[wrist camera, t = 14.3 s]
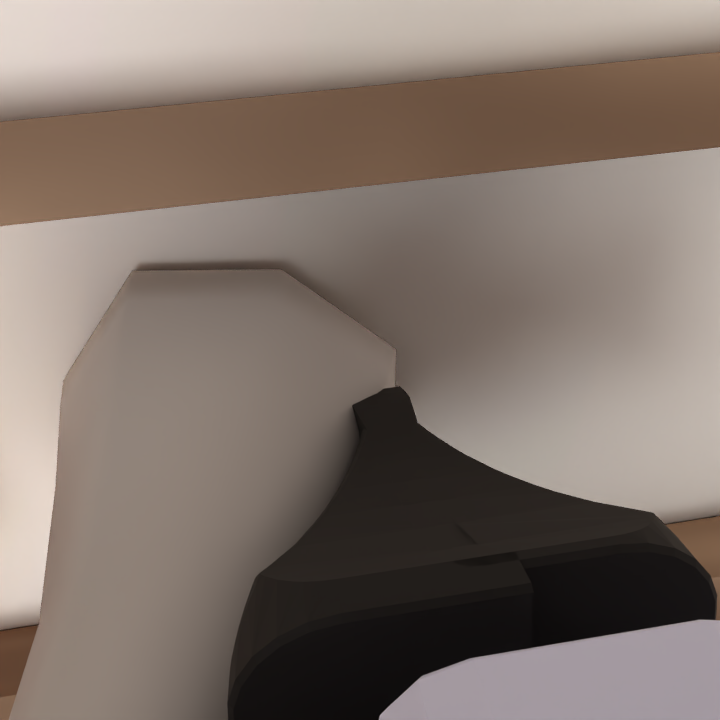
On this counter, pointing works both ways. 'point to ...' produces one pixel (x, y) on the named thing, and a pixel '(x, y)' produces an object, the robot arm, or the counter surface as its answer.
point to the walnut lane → (354, 162)
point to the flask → (187, 483)
